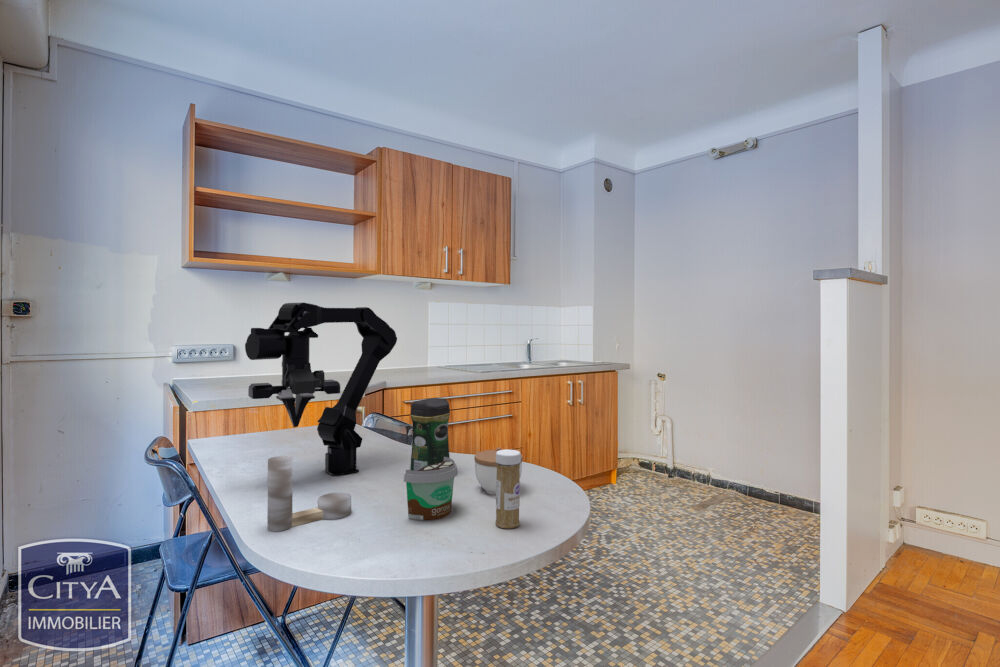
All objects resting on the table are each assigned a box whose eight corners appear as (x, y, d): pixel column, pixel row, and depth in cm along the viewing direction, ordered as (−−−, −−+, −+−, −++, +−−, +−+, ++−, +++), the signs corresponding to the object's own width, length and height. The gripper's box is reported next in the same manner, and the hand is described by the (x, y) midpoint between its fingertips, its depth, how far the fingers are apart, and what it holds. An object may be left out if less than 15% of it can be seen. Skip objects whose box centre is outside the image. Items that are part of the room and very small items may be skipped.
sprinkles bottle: (516, 530, 91) (517, 455, 91) (491, 527, 92) (492, 453, 92) (522, 521, 95) (523, 449, 95) (499, 518, 96) (500, 447, 96)
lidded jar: (530, 494, 110) (531, 451, 110) (484, 500, 106) (484, 455, 106) (510, 480, 120) (511, 441, 120) (467, 485, 116) (467, 444, 116)
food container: (429, 532, 90) (429, 475, 90) (403, 524, 93) (403, 470, 93) (470, 511, 100) (470, 460, 100) (445, 505, 103) (445, 456, 103)
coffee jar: (431, 467, 131) (431, 394, 131) (455, 472, 126) (455, 397, 126) (403, 476, 123) (404, 399, 123) (428, 482, 118) (429, 402, 118)
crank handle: (342, 505, 100) (343, 444, 100) (356, 514, 96) (357, 450, 96) (262, 524, 90) (262, 457, 90) (274, 535, 86) (274, 464, 86)
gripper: (257, 361, 103) (257, 438, 104) (348, 359, 114) (348, 428, 115) (248, 358, 113) (247, 428, 113) (333, 356, 123) (332, 420, 124)
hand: (295, 426), depth 116 cm, fingers closed
